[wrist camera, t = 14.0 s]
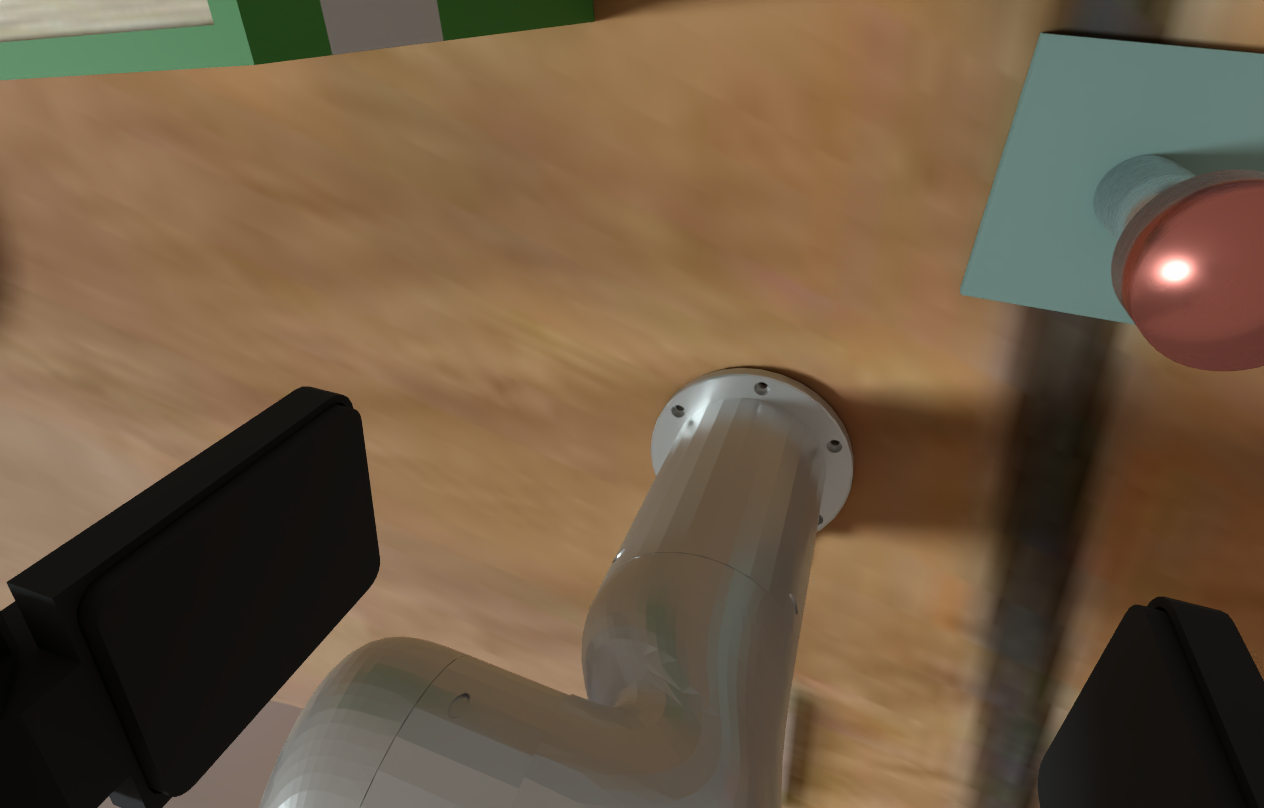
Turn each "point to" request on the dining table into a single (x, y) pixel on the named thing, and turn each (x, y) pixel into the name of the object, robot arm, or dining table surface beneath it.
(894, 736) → the dining table surface
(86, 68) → the green cereal box
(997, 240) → the mat
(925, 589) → the dining table surface
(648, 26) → the dining table surface
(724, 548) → the robot arm
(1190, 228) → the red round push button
